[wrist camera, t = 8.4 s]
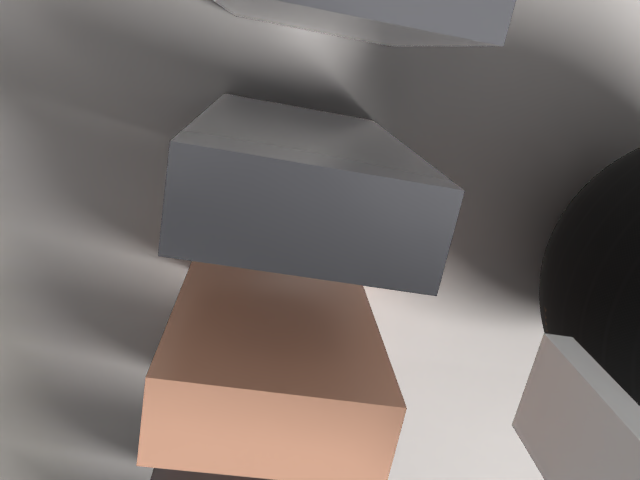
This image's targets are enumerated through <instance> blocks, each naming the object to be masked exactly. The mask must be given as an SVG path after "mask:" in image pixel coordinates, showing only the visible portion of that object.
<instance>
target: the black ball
mask: <svg viewBox="0 0 640 480" xmlns="http://www.w3.org/2000/svg"><path fill="white" fill-rule="evenodd" d="M539 301H540V312H541V318H542V324H543V328H544V332H545V334H553V335H560V336H567V337H573V338H574V339H575V340H576V341H577V342H578V343H579V344H580V345H581V346H582V347H583V348H584V349H585V350H586V351H587V353H588V354H589V355H590V356H591V357H592V358H593V359H594V360H595V361H596V362H597V363H598V364H599V365H600V366H601V367H602V368H603V369H604V370H605V371H606V372H607V373H608V374H609V375H610V376H611V377H612V378H613V379H614V380H615V381H616V382H617V383H618V384H619V385H620V386H621V388H622V389H623V390H624V391H625V392H626V393H627V394H628V395H629V396H630V397H631V398H632V399H633V400H634V401H635V402H636V403H637V404H638V405H639V406H640V148H638V149H636V150H634V151H632V152H630V153H628V154H627V155H625V156H623V157H621V158H620V159H618V160H617V161H615V162H614V163H612V164H611V165H609V166H608V167H607V168H605V169H604V170H603V171H601V172H600V173H599V174H598V175H596V176H595V177H594V178H593V179H592V180H591V181H590V182H589V183H588V184H587V185H586V186H585V187H584V188H583V189H582V190H581V191H580V192H579V193H578V194H577V195H576V196H575V198H574V199H573V200H572V201H571V203H570V204H569V205H568V207H567V208H566V210H565V211H564V213H563V214H562V216H561V217H560V219H559V221H558V223H557V225H556V226H555V228H554V231H553V233H552V235H551V237H550V240H549V242H548V245H547V248H546V251H545V255H544V259H543V263H542V268H541V275H540V286H539Z"/></svg>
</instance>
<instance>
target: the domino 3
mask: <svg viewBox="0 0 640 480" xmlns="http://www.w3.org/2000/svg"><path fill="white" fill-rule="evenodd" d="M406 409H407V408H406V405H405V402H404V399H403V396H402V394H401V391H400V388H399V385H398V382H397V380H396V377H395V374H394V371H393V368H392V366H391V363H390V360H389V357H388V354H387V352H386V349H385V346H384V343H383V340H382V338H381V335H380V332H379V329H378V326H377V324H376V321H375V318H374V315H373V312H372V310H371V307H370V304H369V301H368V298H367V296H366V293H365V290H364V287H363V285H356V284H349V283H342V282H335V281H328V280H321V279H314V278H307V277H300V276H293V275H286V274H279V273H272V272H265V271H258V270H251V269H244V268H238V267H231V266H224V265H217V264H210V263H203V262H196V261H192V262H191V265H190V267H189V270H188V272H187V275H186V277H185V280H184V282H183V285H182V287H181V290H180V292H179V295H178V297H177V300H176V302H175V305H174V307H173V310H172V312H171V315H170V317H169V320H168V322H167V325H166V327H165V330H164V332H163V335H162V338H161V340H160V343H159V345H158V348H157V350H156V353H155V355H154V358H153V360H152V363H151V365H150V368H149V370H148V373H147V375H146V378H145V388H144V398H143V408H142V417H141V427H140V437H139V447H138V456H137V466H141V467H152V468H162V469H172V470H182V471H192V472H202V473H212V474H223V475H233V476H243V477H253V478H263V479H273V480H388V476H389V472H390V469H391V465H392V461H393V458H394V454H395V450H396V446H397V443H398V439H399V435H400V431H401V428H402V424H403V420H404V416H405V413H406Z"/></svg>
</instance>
